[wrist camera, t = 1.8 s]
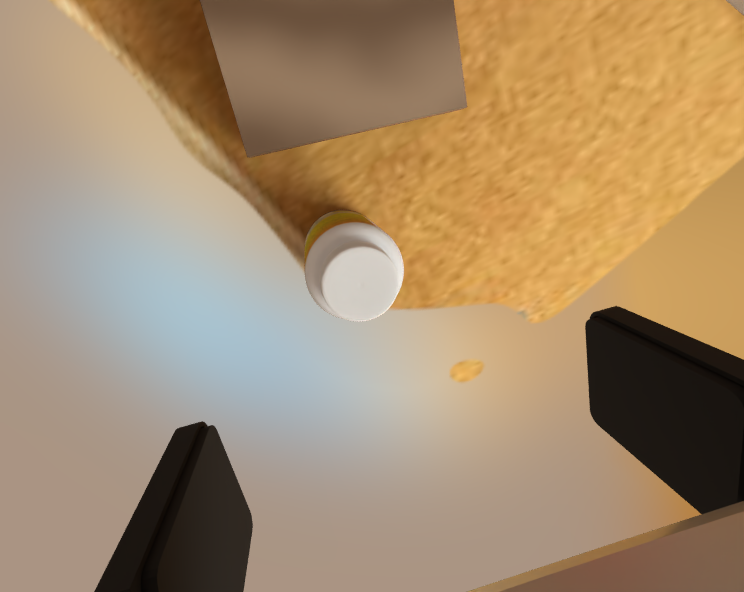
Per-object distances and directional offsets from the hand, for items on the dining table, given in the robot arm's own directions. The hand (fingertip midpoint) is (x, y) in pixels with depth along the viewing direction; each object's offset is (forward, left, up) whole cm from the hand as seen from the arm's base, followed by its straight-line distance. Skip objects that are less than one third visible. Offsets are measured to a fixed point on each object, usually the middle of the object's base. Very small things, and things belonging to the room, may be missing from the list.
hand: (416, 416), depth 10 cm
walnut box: (-13, +2, -21) cm, 25 cm away
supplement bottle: (0, 0, -22) cm, 22 cm away
